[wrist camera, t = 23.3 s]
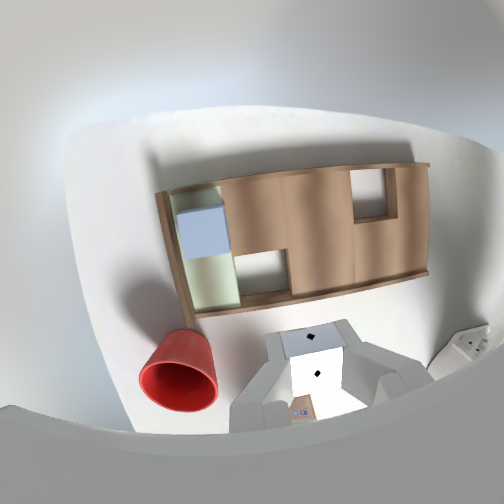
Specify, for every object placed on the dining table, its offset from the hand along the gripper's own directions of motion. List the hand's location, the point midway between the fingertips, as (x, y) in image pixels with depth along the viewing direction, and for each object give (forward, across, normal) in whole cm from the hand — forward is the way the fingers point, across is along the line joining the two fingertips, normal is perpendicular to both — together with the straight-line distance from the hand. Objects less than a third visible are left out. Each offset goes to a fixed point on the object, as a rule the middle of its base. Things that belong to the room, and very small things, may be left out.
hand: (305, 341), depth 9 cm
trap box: (+27, -7, +3) cm, 28 cm away
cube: (+24, +6, 0) cm, 25 cm away
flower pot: (+27, +14, +19) cm, 36 cm away
